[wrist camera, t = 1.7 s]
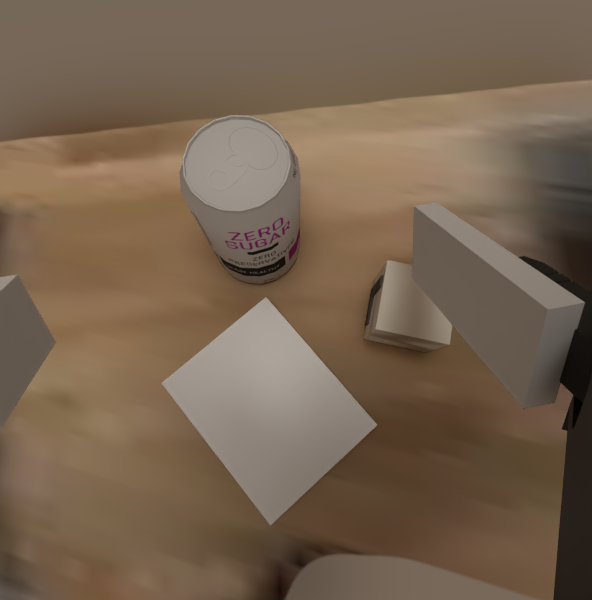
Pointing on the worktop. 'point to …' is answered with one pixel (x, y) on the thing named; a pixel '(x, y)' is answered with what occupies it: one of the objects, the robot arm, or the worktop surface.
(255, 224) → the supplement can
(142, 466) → the worktop surface
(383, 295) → the letter block
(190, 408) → the grey board
